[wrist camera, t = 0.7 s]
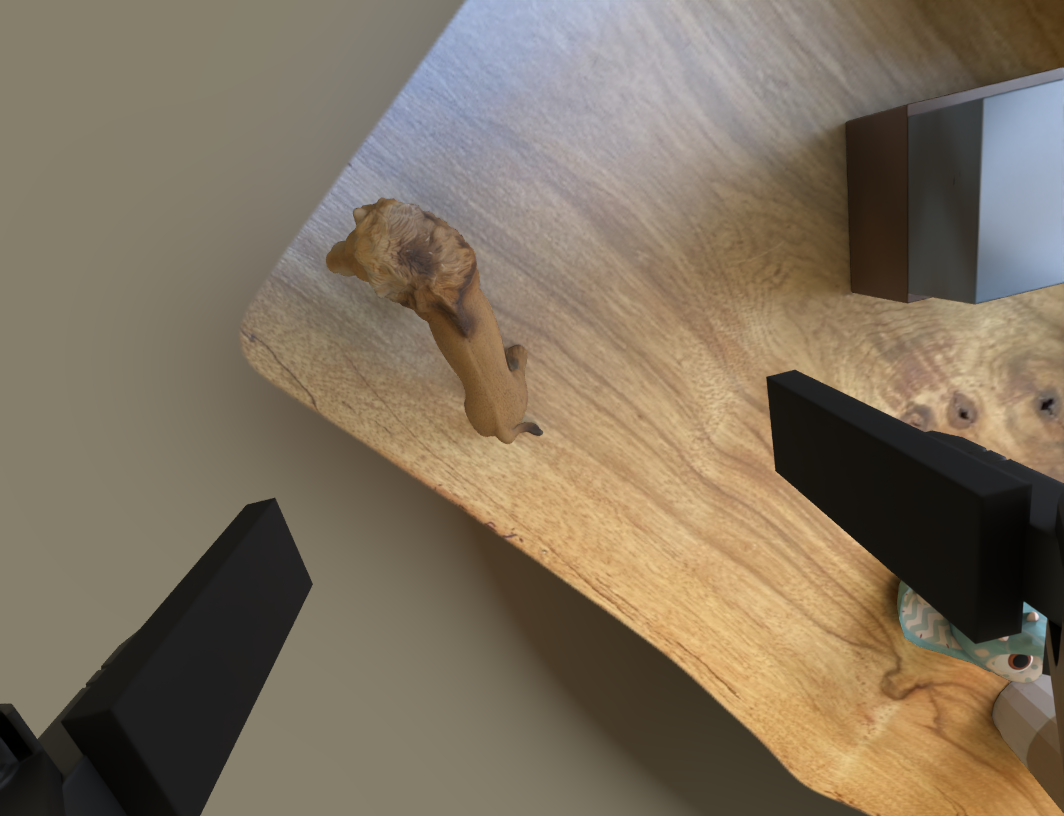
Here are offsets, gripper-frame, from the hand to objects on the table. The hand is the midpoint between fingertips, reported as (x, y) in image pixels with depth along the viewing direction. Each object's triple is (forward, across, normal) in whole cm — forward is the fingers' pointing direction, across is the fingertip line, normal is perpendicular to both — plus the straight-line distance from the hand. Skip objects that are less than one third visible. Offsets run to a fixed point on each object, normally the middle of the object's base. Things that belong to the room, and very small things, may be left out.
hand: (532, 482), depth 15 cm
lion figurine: (+18, -2, +2) cm, 18 cm away
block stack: (+18, +25, +3) cm, 31 cm away
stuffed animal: (+18, +26, -23) cm, 39 cm away
